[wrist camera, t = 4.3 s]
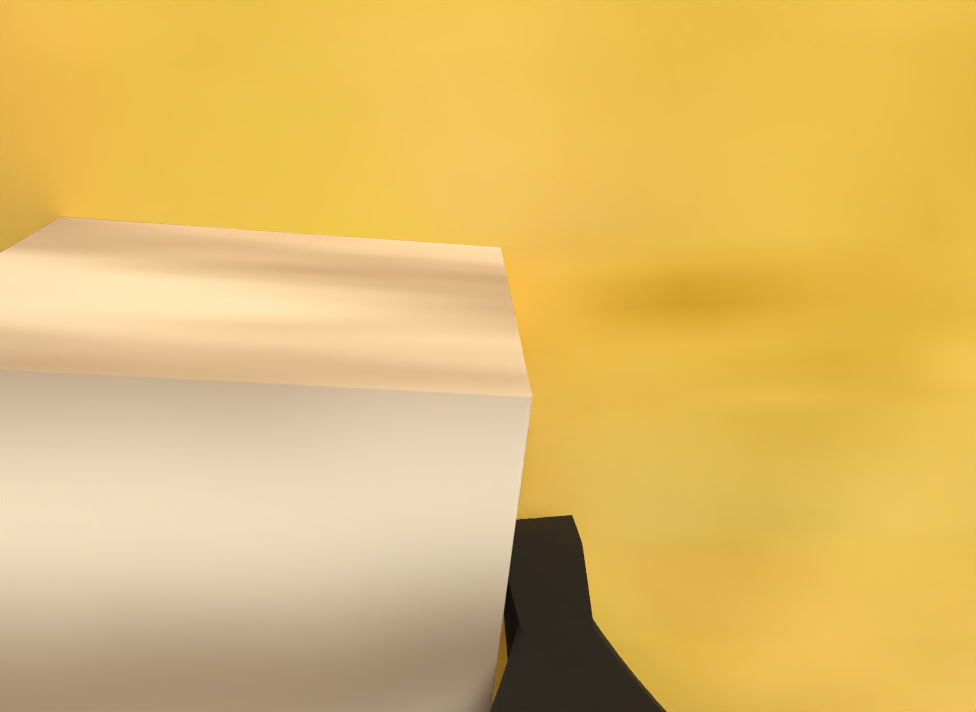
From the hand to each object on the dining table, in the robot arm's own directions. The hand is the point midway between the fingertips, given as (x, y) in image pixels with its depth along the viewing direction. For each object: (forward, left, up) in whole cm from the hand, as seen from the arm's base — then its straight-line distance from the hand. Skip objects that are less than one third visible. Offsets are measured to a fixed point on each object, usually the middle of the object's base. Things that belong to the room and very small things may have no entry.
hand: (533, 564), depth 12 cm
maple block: (0, +4, -2) cm, 5 cm away
